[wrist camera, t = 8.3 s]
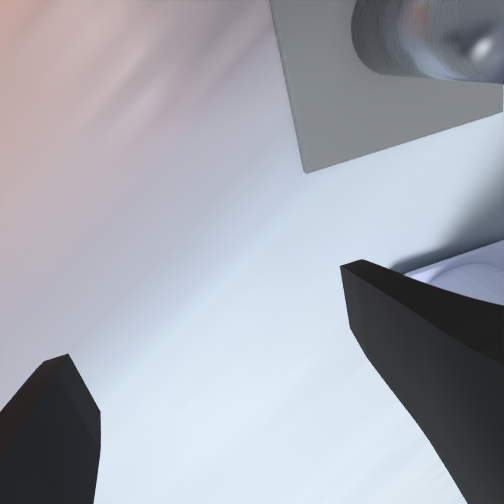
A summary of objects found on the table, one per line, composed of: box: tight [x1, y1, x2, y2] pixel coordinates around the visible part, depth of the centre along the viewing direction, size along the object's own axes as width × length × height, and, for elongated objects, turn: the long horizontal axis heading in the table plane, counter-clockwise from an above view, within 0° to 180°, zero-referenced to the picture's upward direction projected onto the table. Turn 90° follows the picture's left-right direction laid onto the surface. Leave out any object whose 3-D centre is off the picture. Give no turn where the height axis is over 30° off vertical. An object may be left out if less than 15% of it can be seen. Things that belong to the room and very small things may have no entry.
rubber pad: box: [269, 0, 503, 174], centre depth 18 cm, size 10×10×1 cm
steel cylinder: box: [351, 0, 504, 84], centre depth 15 cm, size 4×4×7 cm
